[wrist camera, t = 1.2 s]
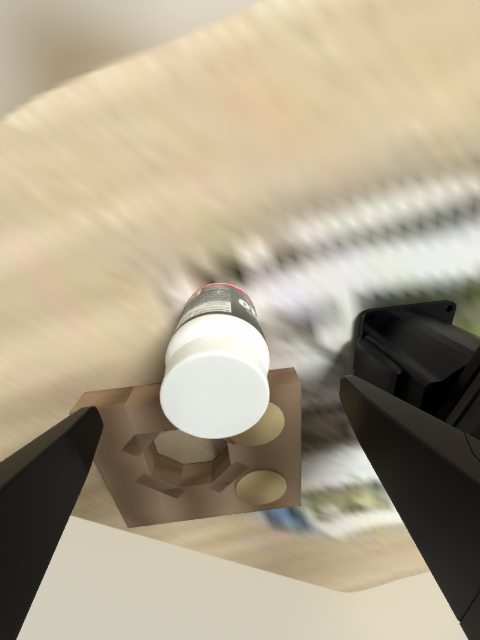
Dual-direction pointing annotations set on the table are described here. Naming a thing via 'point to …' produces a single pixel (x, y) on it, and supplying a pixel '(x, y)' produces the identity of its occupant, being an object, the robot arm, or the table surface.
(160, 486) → the pin board
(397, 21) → the table surface
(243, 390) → the pill bottle
